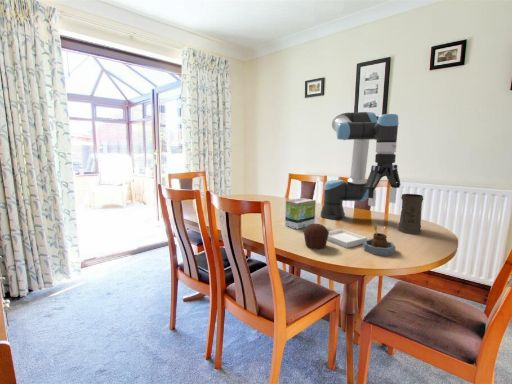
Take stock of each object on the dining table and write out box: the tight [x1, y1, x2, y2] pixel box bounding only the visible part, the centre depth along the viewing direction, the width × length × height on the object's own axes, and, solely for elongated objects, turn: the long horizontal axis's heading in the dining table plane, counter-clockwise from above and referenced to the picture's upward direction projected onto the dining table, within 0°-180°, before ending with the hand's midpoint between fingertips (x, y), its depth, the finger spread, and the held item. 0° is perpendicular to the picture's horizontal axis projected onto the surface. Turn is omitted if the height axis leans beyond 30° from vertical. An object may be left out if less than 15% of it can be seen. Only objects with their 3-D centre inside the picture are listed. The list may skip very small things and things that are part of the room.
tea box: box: [284, 197, 317, 230], centre depth 157 cm, size 15×10×15 cm
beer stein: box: [397, 193, 424, 235], centre depth 148 cm, size 15×11×20 cm
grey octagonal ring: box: [362, 238, 396, 257], centre depth 120 cm, size 12×12×3 cm
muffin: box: [302, 223, 329, 250], centre depth 124 cm, size 12×11×10 cm
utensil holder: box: [371, 221, 388, 248], centre depth 119 cm, size 6×6×12 cm
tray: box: [327, 228, 368, 249], centre depth 133 cm, size 16×14×2 cm
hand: (382, 204), depth 116 cm, fingers open, 13 cm apart
